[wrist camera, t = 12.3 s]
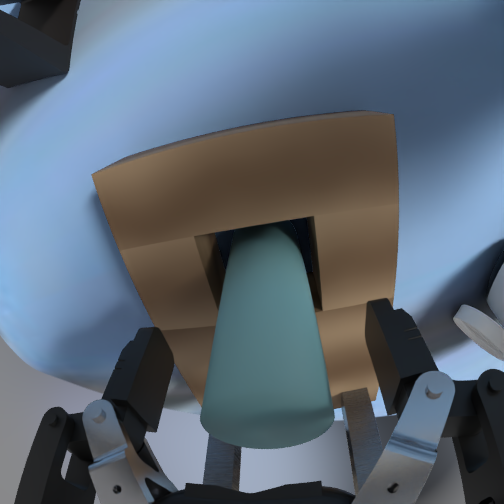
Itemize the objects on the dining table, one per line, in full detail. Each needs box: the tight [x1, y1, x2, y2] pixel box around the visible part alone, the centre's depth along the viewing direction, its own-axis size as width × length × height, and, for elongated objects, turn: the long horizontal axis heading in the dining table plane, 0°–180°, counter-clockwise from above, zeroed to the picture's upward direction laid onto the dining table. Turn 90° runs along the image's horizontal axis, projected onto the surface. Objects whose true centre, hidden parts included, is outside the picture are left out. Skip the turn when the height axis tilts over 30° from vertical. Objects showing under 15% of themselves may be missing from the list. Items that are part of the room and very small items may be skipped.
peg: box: [200, 220, 335, 449], centre depth 13 cm, size 4×4×12 cm
